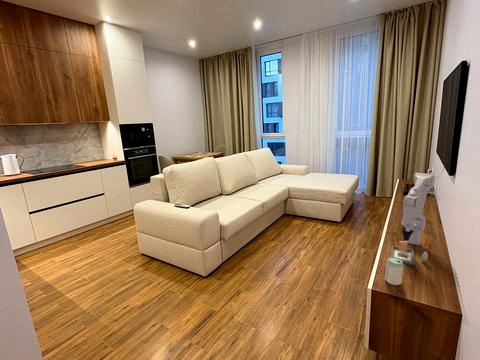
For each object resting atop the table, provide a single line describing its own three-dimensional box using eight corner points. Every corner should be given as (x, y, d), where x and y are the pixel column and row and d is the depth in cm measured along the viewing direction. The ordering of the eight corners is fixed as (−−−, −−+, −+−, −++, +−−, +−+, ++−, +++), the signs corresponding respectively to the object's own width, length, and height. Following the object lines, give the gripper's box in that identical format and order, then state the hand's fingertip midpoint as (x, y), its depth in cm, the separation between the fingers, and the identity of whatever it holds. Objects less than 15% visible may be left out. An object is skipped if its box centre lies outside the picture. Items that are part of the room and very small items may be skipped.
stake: (421, 260, 142) (422, 250, 141) (426, 261, 141) (428, 252, 140) (421, 263, 139) (423, 254, 138) (427, 264, 138) (428, 255, 137)
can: (395, 276, 130) (397, 255, 127) (404, 285, 123) (407, 263, 120) (381, 277, 130) (384, 256, 127) (390, 286, 123) (392, 264, 120)
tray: (391, 247, 156) (391, 245, 156) (412, 251, 151) (413, 249, 150) (390, 260, 144) (391, 258, 143) (414, 265, 138) (414, 263, 138)
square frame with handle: (394, 248, 154) (395, 239, 153) (410, 252, 150) (411, 242, 148) (394, 258, 144) (395, 249, 143) (411, 262, 140) (412, 252, 139)
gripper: (417, 222, 137) (414, 244, 141) (416, 212, 149) (413, 233, 153) (402, 219, 141) (399, 241, 145) (402, 210, 153) (399, 231, 156)
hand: (405, 237), depth 149 cm, fingers open, 7 cm apart
